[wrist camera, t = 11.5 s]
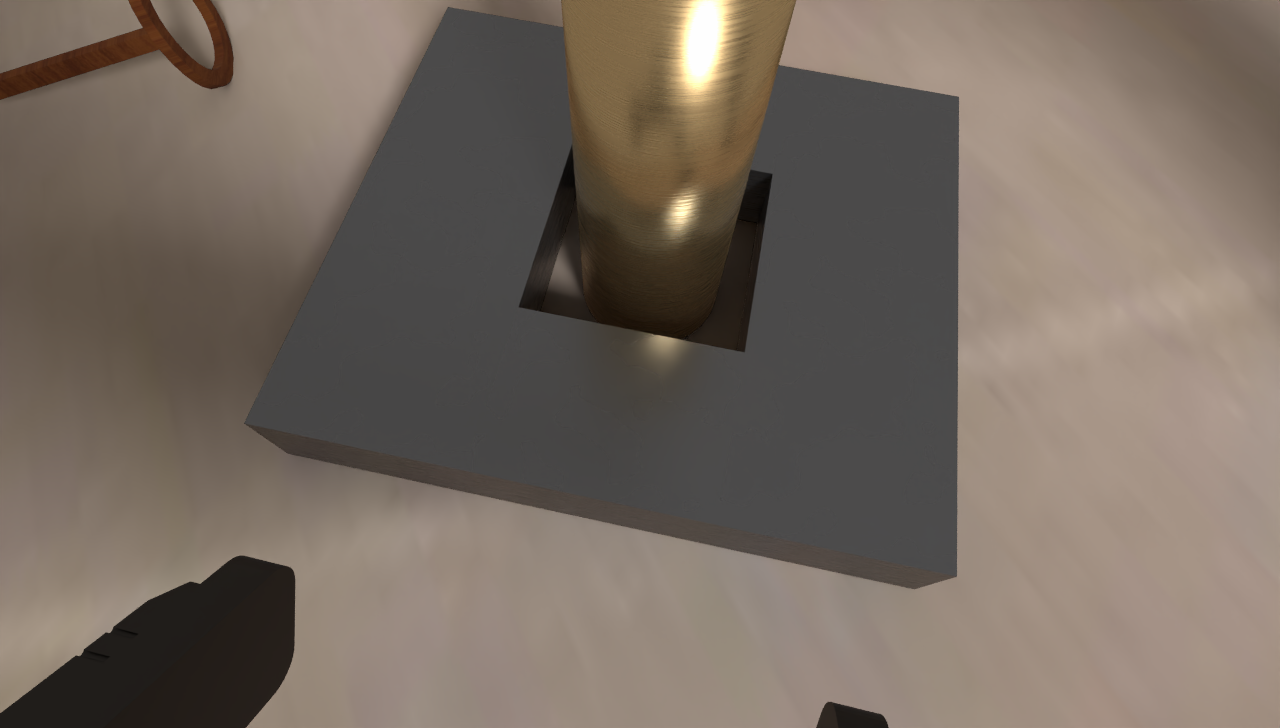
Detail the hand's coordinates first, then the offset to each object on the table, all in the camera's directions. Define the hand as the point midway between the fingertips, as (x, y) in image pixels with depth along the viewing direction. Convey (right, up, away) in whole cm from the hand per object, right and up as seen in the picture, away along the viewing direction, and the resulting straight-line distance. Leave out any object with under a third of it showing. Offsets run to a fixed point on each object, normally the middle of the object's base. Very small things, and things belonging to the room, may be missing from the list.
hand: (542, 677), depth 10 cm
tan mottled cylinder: (+2, +7, +12) cm, 14 cm away
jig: (+2, +7, +12) cm, 14 cm away
